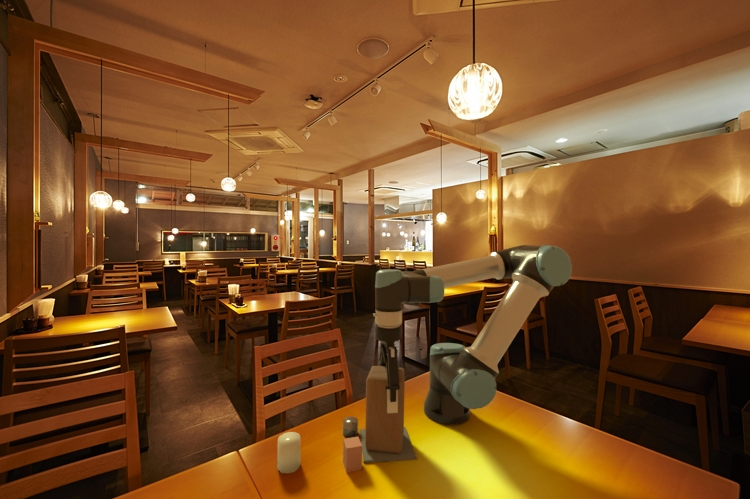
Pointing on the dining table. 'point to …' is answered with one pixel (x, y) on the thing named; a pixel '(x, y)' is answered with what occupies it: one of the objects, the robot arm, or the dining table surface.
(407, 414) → the dining table surface
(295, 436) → the cream rounded cylinder
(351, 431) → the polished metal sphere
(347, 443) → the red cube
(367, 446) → the wooden block
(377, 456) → the mat
